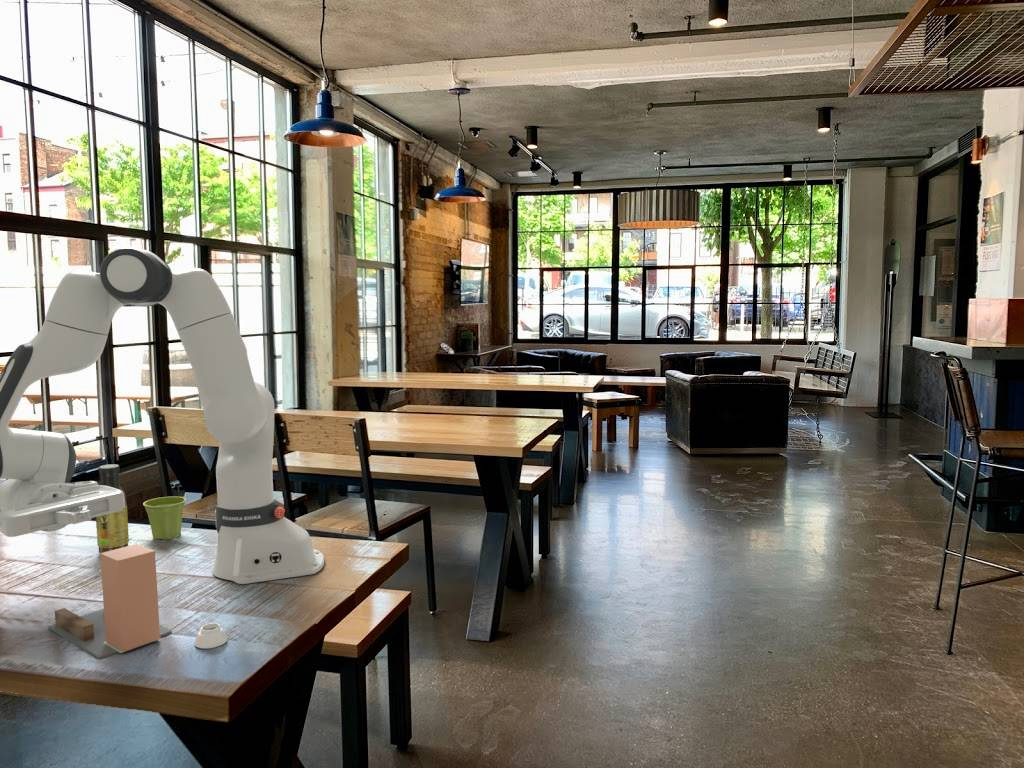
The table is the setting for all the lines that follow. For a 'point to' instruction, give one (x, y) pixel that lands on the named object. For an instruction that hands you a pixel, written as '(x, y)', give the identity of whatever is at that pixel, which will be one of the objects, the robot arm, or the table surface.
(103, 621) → the chute mat
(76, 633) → the chute rails
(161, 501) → the plant pot
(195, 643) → the white jar
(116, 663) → the table surface
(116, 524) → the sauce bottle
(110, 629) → the block
